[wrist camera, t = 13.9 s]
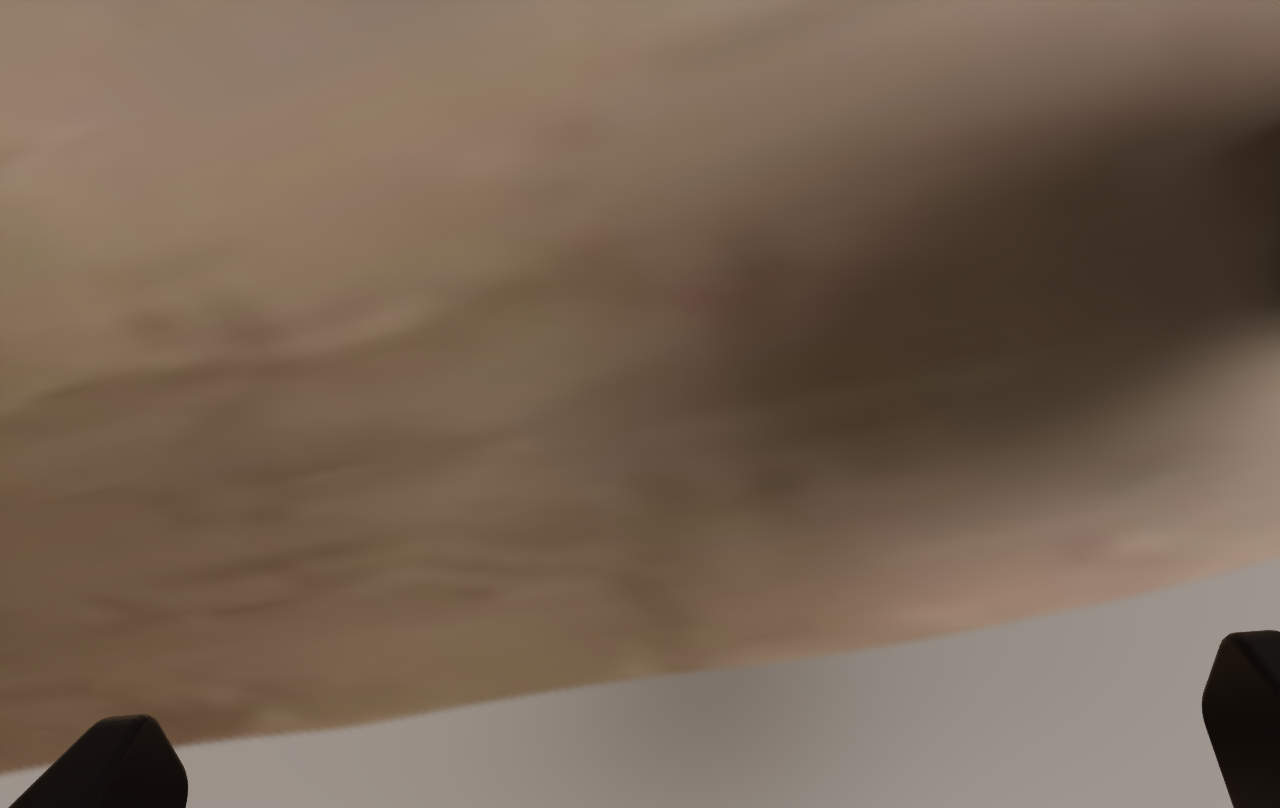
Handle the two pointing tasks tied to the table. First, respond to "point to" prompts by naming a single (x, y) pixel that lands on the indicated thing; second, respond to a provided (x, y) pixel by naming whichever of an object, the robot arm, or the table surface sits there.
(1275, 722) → the robot arm
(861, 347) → the table surface
